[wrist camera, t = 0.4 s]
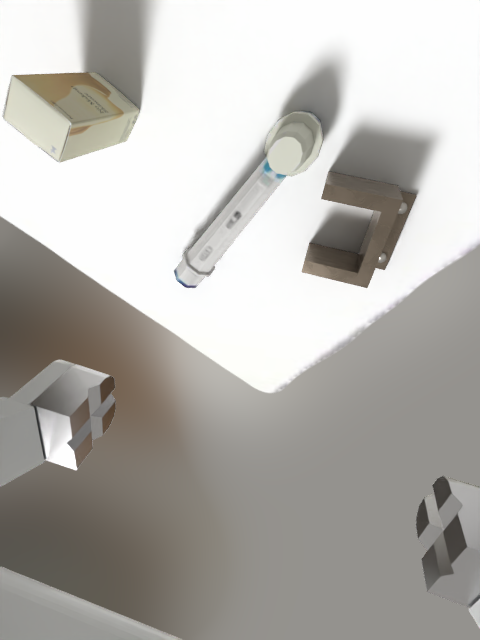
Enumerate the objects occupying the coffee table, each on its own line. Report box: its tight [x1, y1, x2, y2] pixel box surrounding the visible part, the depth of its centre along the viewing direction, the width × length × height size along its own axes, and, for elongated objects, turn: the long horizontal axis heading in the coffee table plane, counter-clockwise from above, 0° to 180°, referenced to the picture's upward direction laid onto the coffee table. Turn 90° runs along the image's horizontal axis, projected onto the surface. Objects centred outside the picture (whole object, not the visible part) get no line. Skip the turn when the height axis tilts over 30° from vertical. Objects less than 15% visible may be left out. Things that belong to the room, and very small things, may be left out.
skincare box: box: [2, 72, 140, 163], centre depth 37 cm, size 6×4×12 cm
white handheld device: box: [174, 111, 323, 288], centre depth 43 cm, size 5×7×25 cm
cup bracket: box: [302, 171, 416, 288], centre depth 40 cm, size 10×10×5 cm
